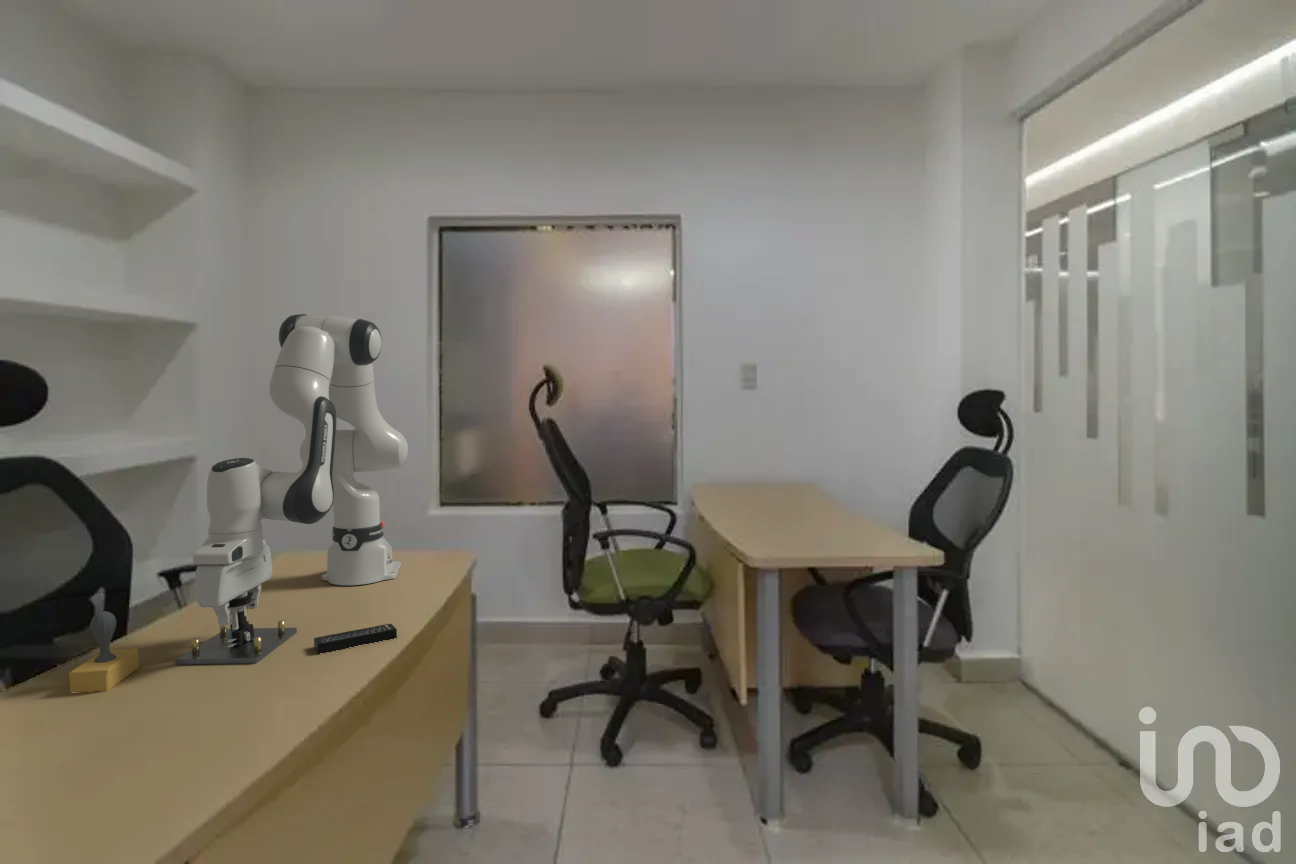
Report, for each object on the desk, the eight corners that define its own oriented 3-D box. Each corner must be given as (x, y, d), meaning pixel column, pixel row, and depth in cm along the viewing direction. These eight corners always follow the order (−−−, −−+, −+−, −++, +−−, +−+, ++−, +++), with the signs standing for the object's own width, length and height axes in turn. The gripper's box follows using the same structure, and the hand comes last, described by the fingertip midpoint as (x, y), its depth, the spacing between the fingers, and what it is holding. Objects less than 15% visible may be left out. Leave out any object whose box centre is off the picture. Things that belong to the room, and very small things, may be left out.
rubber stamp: (109, 691, 115) (105, 620, 114) (68, 694, 113) (64, 622, 113) (140, 667, 124) (137, 601, 123) (103, 670, 123) (100, 603, 122)
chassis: (226, 633, 141) (225, 616, 141) (296, 632, 142) (296, 615, 142) (176, 664, 125) (175, 645, 125) (256, 663, 126) (255, 644, 126)
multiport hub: (313, 649, 134) (313, 637, 134) (391, 634, 142) (391, 623, 142) (318, 656, 130) (317, 644, 130) (397, 640, 138) (397, 629, 138)
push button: (243, 649, 130) (238, 596, 129) (214, 650, 130) (209, 598, 129) (262, 635, 136) (257, 585, 135) (235, 637, 136) (230, 587, 135)
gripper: (248, 533, 142) (250, 599, 143) (186, 557, 122) (190, 634, 123) (279, 532, 143) (282, 599, 144) (223, 557, 122) (226, 634, 123)
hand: (239, 615), depth 133 cm, fingers open, 8 cm apart
